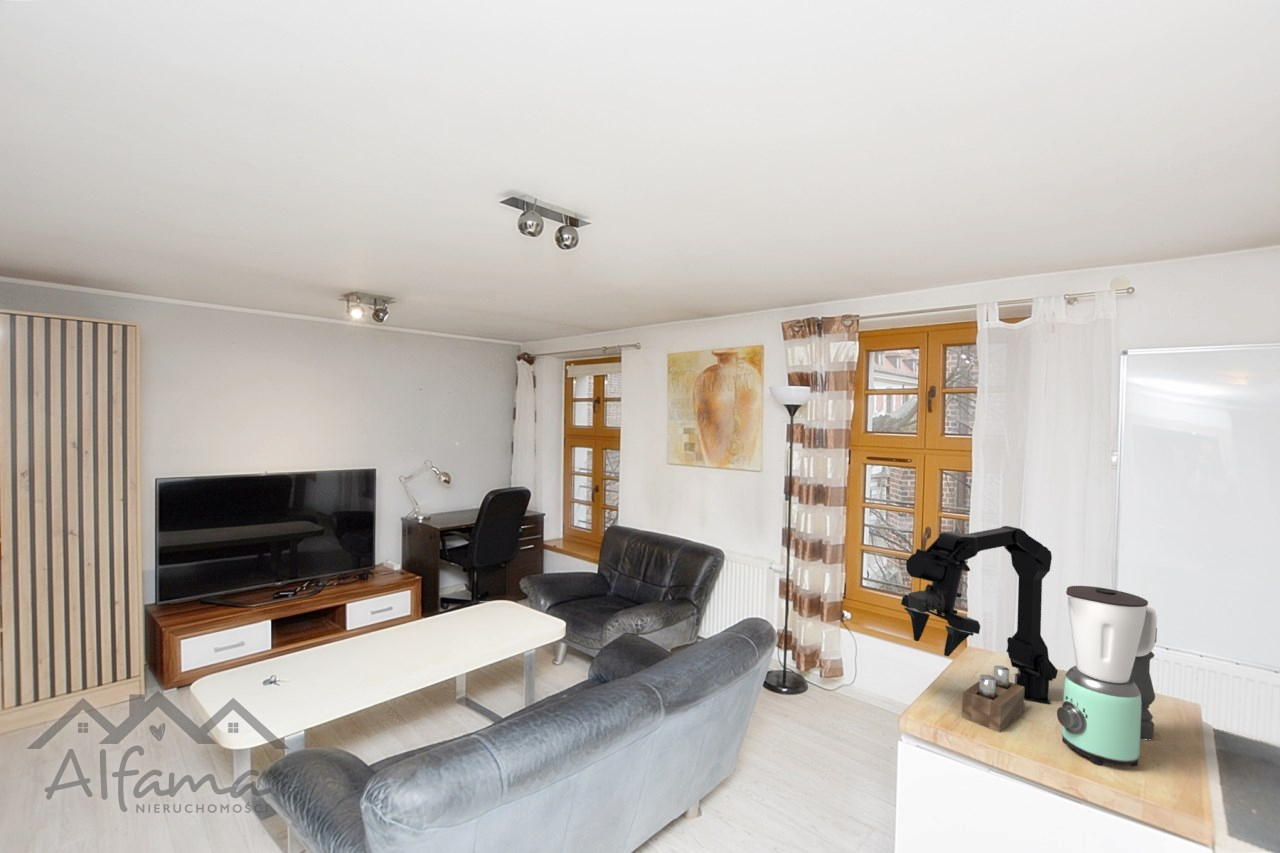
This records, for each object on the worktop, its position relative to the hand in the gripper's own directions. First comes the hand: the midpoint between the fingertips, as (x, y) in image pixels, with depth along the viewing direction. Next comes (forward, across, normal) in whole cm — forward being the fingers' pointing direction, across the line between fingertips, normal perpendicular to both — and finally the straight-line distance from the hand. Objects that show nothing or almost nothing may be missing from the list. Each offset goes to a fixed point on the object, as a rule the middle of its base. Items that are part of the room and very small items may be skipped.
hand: (930, 648), depth 137 cm
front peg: (+8, +7, +13) cm, 17 cm away
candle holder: (+6, +20, +43) cm, 47 cm away
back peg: (+7, +3, +21) cm, 22 cm away
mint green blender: (+10, +24, +26) cm, 37 cm away
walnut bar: (+12, +5, +18) cm, 22 cm away
